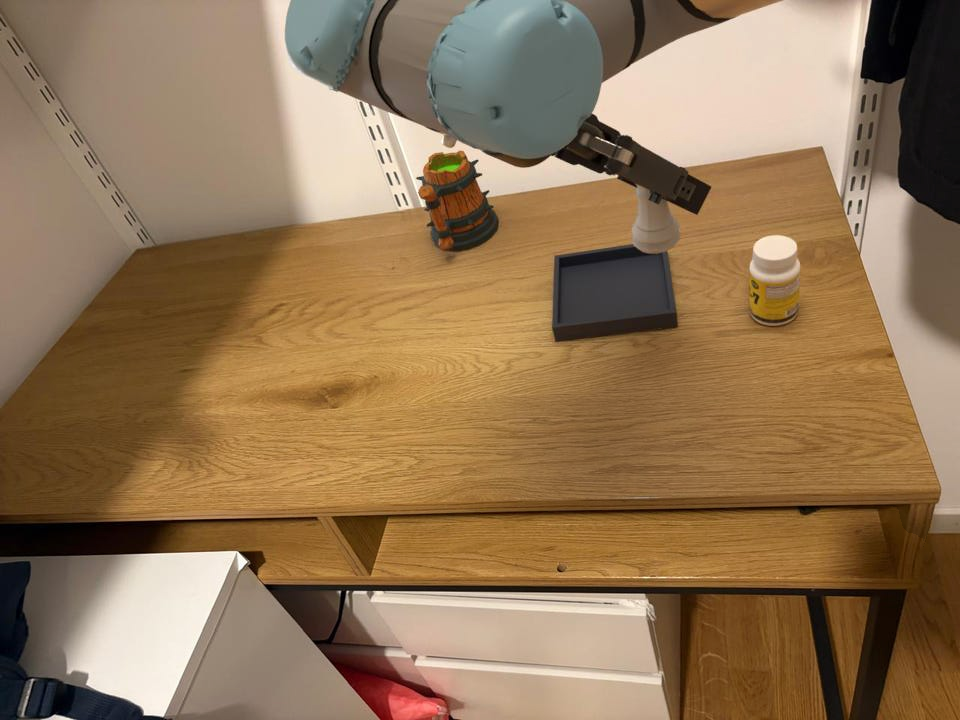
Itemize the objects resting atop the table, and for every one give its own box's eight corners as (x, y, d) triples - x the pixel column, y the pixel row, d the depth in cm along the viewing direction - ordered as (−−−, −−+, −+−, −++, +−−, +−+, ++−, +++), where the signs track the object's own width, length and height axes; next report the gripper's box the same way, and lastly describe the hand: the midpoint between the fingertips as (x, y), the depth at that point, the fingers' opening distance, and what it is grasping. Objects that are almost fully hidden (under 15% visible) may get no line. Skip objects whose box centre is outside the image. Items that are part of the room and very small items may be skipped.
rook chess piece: (672, 258, 66) (665, 180, 61) (624, 253, 69) (614, 177, 63) (687, 229, 69) (683, 152, 64) (641, 225, 71) (633, 150, 66)
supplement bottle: (746, 299, 80) (746, 235, 74) (794, 295, 78) (797, 229, 73) (752, 329, 76) (752, 264, 71) (801, 325, 75) (805, 258, 69)
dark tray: (677, 327, 79) (676, 312, 78) (555, 341, 82) (551, 327, 81) (666, 253, 88) (665, 239, 87) (557, 269, 92) (554, 255, 90)
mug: (443, 210, 108) (420, 139, 101) (509, 208, 104) (490, 133, 97) (412, 266, 100) (384, 192, 92) (482, 265, 96) (459, 188, 88)
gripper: (423, 123, 59) (606, 202, 75) (551, 185, 48) (735, 263, 63) (460, 29, 57) (640, 131, 73) (602, 70, 45) (780, 180, 61)
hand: (684, 192), depth 68 cm, fingers closed on rook chess piece, 3 cm apart
